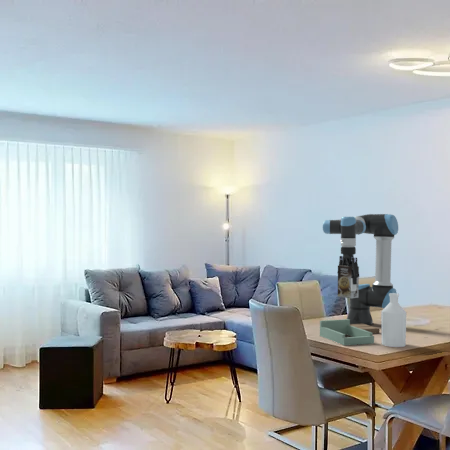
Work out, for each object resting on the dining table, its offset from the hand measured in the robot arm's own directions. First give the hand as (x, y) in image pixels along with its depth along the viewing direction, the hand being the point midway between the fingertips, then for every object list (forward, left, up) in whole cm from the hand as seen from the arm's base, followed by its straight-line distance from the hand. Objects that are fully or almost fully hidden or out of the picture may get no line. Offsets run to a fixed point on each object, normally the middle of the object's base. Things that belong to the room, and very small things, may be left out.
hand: (348, 289), depth 305 cm
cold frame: (+2, -2, -25) cm, 25 cm away
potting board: (-16, +16, -25) cm, 34 cm away
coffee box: (0, 0, -4) cm, 4 cm away
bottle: (+19, +14, -26) cm, 35 cm away
